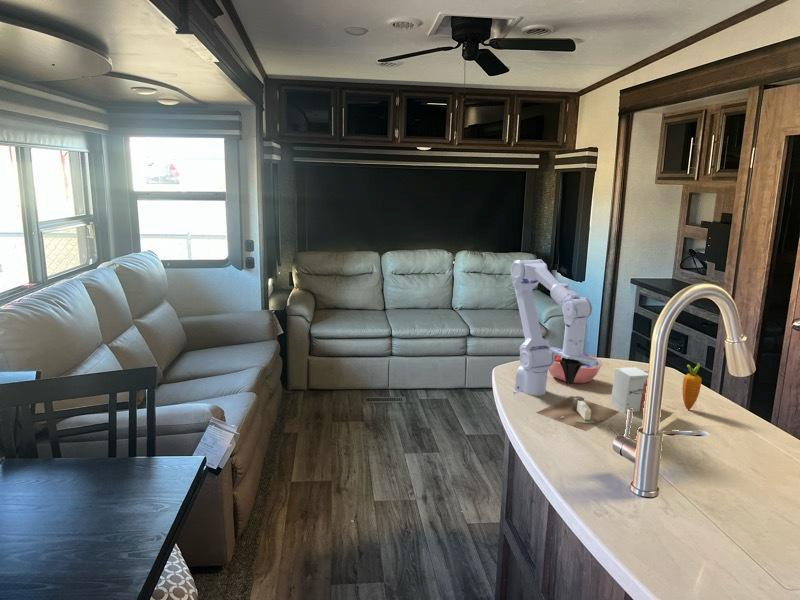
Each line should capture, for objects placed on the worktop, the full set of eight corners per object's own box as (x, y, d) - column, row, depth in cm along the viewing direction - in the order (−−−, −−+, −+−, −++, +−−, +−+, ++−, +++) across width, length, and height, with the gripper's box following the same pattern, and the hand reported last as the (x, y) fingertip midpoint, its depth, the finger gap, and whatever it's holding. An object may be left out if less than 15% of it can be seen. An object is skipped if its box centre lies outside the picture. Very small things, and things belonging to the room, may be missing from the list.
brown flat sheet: (535, 416, 168) (536, 411, 168) (571, 399, 182) (571, 395, 182) (586, 435, 157) (587, 430, 157) (620, 415, 170) (621, 411, 170)
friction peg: (583, 423, 162) (585, 411, 161) (571, 407, 172) (572, 396, 172) (594, 423, 162) (595, 411, 161) (581, 407, 173) (582, 396, 172)
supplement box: (624, 415, 170) (629, 376, 167) (609, 405, 177) (614, 367, 174) (645, 414, 172) (651, 374, 169) (629, 404, 179) (635, 366, 176)
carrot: (679, 411, 175) (686, 364, 172) (678, 405, 180) (685, 360, 176) (697, 414, 173) (704, 367, 170) (696, 408, 178) (703, 362, 174)
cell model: (558, 368, 211) (561, 338, 209) (609, 383, 197) (613, 352, 194) (532, 378, 200) (534, 347, 197) (583, 395, 186) (587, 362, 183)
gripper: (544, 335, 168) (540, 379, 171) (589, 347, 158) (584, 393, 161) (558, 331, 173) (554, 373, 176) (602, 343, 162) (597, 387, 165)
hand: (569, 383), depth 169 cm, fingers closed
